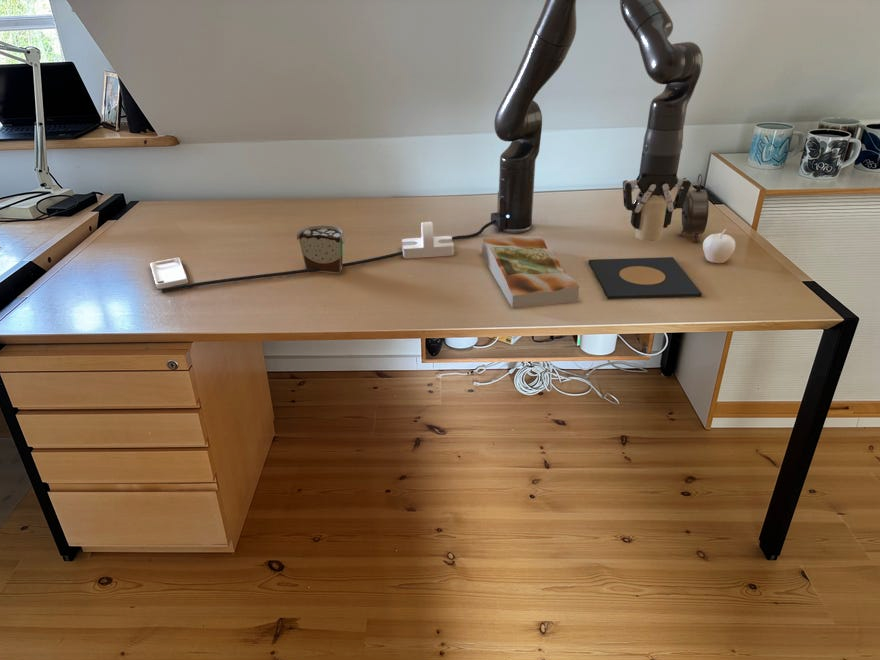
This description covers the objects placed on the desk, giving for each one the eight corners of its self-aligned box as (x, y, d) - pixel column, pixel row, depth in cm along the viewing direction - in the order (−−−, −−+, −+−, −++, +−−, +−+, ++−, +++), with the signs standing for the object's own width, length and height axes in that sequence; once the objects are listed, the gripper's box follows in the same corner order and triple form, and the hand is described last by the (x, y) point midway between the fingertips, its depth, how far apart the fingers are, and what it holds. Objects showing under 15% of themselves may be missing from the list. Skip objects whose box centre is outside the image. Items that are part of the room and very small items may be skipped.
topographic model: (481, 254, 169) (482, 236, 167) (537, 249, 171) (538, 231, 168) (512, 307, 144) (513, 286, 142) (577, 301, 145) (579, 280, 143)
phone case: (188, 283, 163) (180, 261, 175) (187, 278, 162) (179, 257, 174) (157, 289, 161) (151, 267, 172) (155, 284, 160) (149, 262, 172)
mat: (607, 299, 146) (608, 295, 145) (588, 262, 163) (588, 259, 162) (701, 296, 145) (702, 293, 144) (672, 260, 162) (672, 256, 161)
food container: (355, 264, 168) (352, 226, 163) (346, 274, 163) (342, 235, 158) (311, 260, 172) (306, 222, 166) (300, 269, 167) (295, 231, 162)
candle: (662, 233, 149) (670, 189, 144) (659, 242, 145) (667, 197, 140) (637, 231, 151) (643, 187, 146) (633, 239, 147) (639, 195, 142)
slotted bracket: (403, 258, 170) (402, 229, 166) (402, 248, 176) (400, 219, 172) (454, 255, 170) (454, 226, 166) (451, 245, 176) (451, 216, 172)
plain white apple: (717, 268, 156) (725, 236, 152) (693, 258, 162) (699, 227, 157) (738, 262, 159) (746, 230, 155) (714, 252, 164) (720, 221, 160)
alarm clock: (703, 244, 169) (716, 180, 160) (681, 243, 170) (692, 180, 161) (696, 228, 178) (708, 167, 169) (675, 228, 179) (685, 167, 170)
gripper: (690, 143, 141) (677, 220, 150) (621, 146, 142) (612, 222, 151) (703, 152, 135) (688, 232, 144) (631, 155, 135) (620, 234, 144)
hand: (649, 226), depth 147 cm, fingers closed on candle, 5 cm apart
